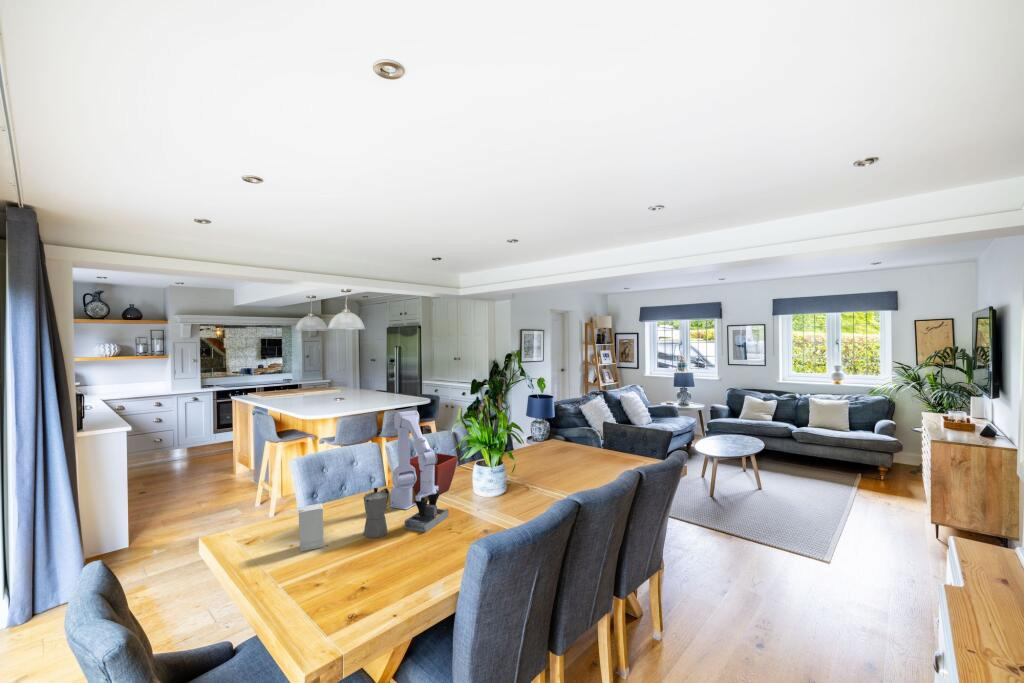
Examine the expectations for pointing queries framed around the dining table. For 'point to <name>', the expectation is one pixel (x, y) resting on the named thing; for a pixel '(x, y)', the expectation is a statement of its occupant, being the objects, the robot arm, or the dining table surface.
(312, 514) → the skincare box
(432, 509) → the block
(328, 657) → the dining table surface
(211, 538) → the dining table surface
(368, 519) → the coffeepot
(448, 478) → the plant pot
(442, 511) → the rack
